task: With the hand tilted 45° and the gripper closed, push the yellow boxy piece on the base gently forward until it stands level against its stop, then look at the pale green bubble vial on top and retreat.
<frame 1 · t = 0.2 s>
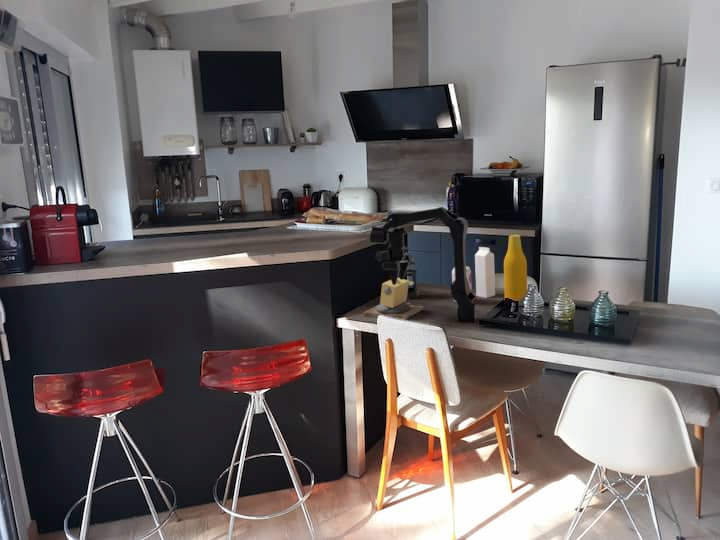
hand: (398, 282, 229), 15 cm above the table, tool pointing down, fingers open, 9 cm apart
level base: (393, 312, 239), on the table
milk: (485, 296, 255), on the table
supplement can: (462, 301, 249), on the table
yellow bottle: (516, 304, 238), on the table
yellow boxy piece: (394, 291, 237), point 9 cm above the table, hinge at -12.0°
french press: (408, 296, 265), on the table
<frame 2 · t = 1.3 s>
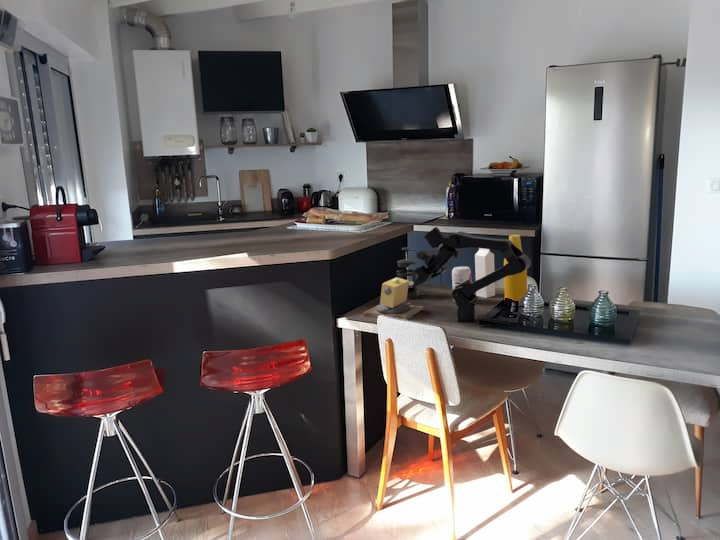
hand: (418, 283, 230), 14 cm above the table, tool tilted 45°, fingers open, 6 cm apart
nothing on the table moved.
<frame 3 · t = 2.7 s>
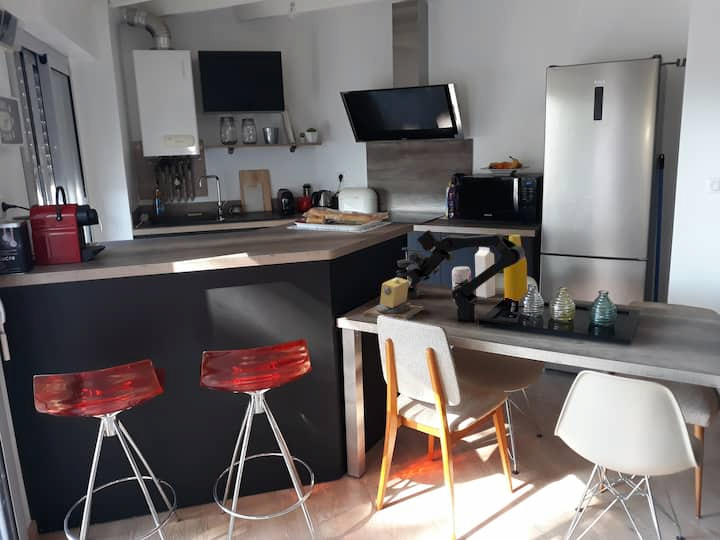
hand: (411, 285, 232), 12 cm above the table, tool tilted 45°, fingers closed
nothing on the table moved.
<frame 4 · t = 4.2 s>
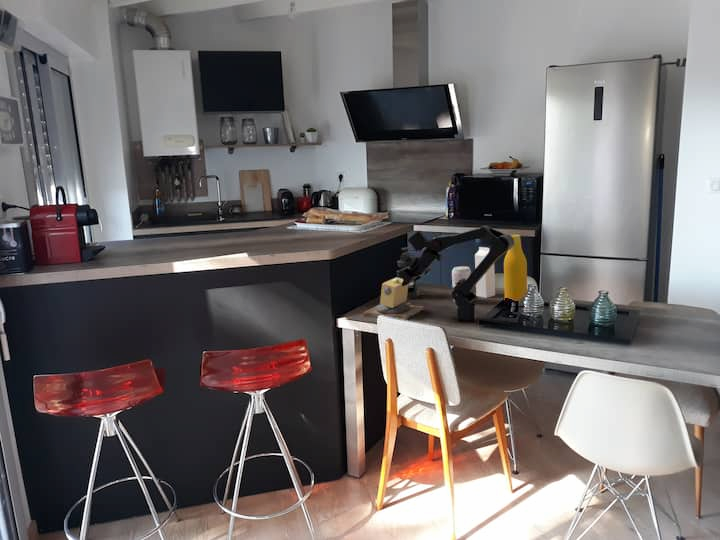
hand: (402, 285, 234), 12 cm above the table, tool tilted 45°, fingers closed, pressing on yellow boxy piece
yellow boxy piece: (394, 291, 237), point 9 cm above the table, hinge at -11.9°, touching gripper
everything else where it was.
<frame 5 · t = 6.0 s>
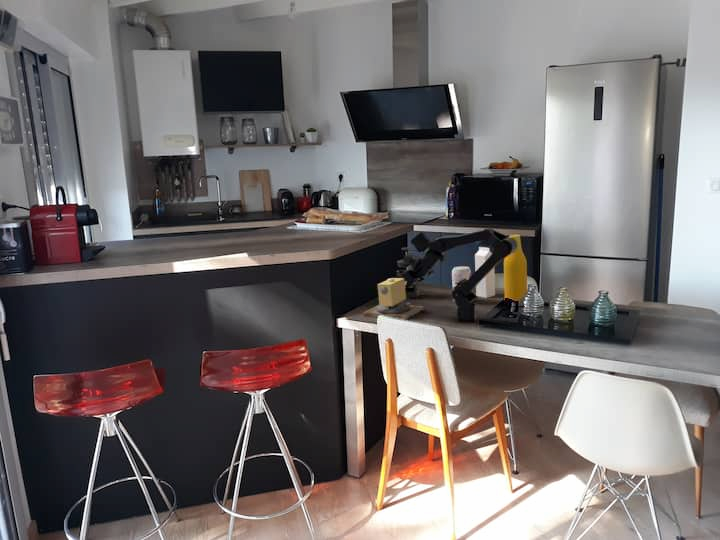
hand: (406, 287, 233), 12 cm above the table, tool tilted 45°, fingers closed
yellow boxy piece: (391, 290, 237), point 10 cm above the table, hinge at 1.7°
everything else where it was.
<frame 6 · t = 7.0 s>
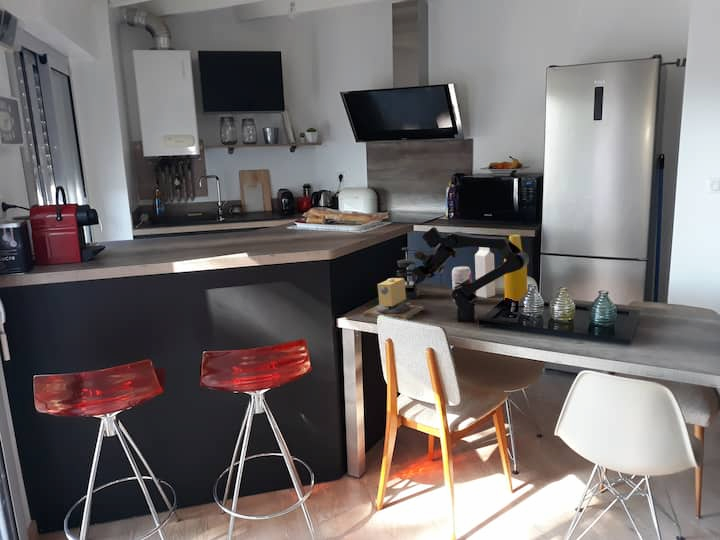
hand: (416, 282, 230), 14 cm above the table, tool tilted 45°, fingers closed
nothing on the table moved.
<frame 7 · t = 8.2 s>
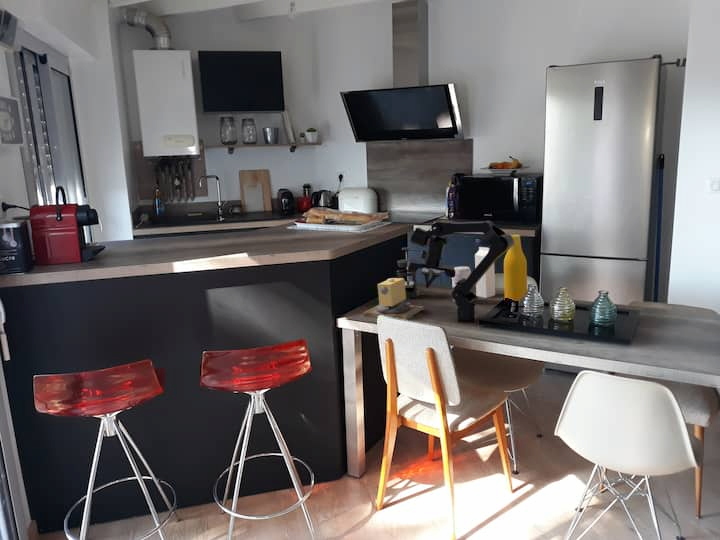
hand: (426, 287, 228), 12 cm above the table, tool tilted 15°, fingers closed
nothing on the table moved.
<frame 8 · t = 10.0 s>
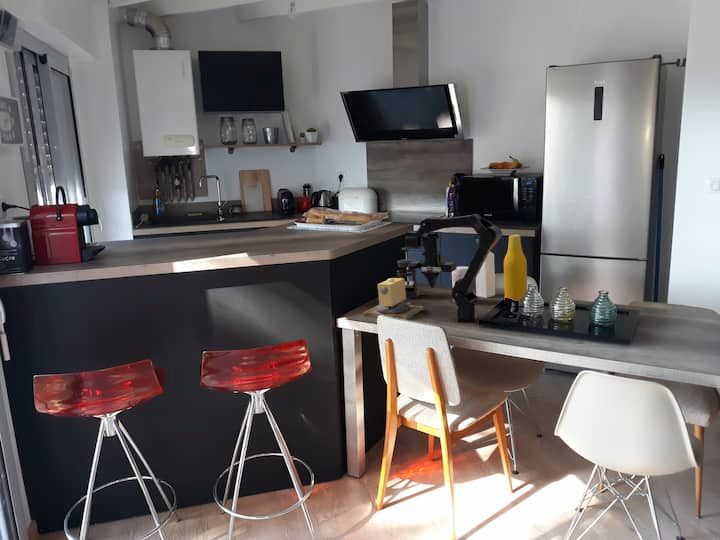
hand: (432, 287, 227), 12 cm above the table, tool pointing down, fingers closed
nothing on the table moved.
at the end: yellow boxy piece at +2° (first picture: -12°); yellow boxy piece tilted 2° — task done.
